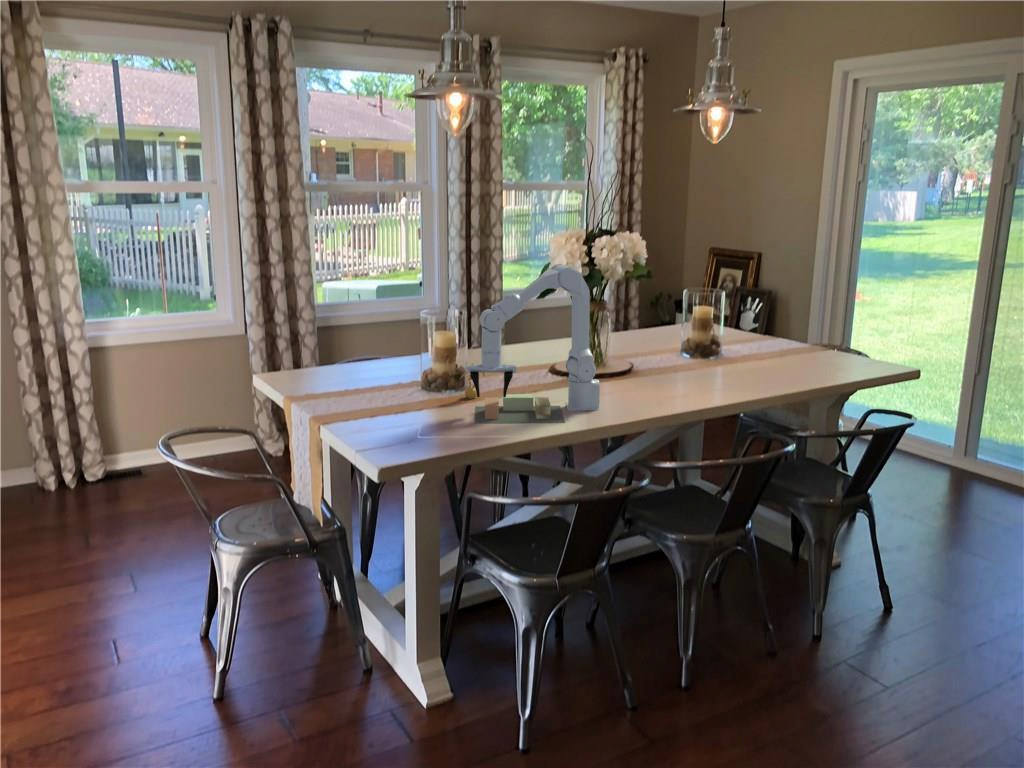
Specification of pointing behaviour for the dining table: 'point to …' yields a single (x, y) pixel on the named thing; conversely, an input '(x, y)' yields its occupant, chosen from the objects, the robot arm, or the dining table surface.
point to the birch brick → (542, 407)
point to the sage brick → (518, 402)
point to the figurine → (470, 388)
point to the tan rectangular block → (491, 408)
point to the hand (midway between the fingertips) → (491, 396)
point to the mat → (518, 416)
